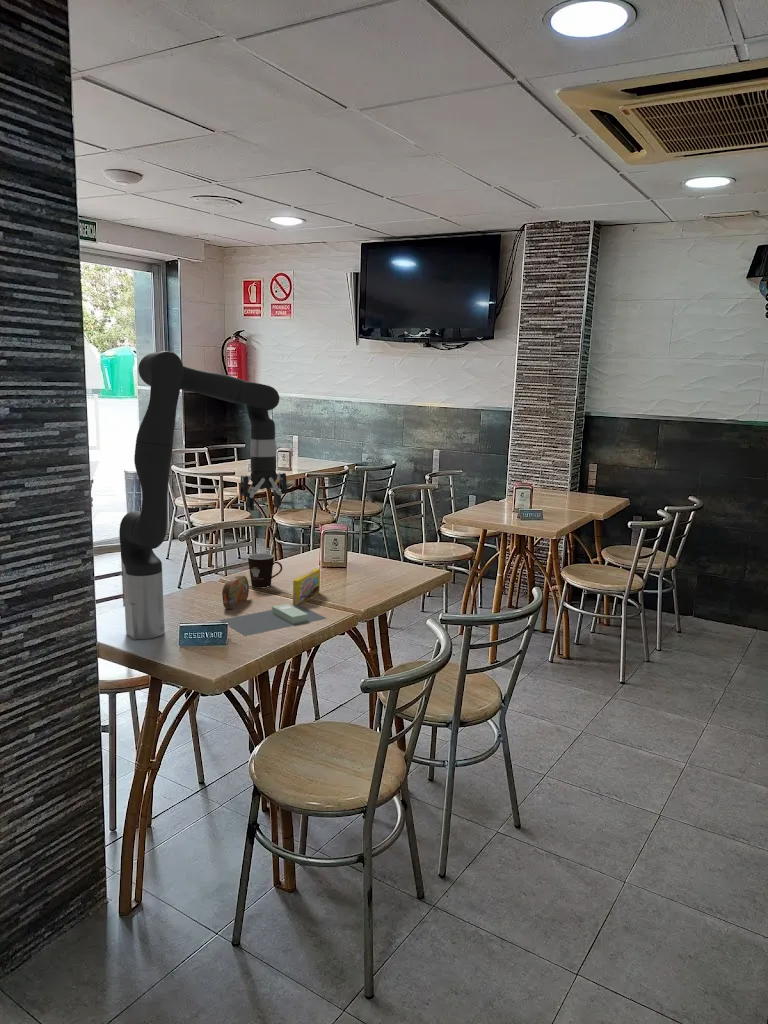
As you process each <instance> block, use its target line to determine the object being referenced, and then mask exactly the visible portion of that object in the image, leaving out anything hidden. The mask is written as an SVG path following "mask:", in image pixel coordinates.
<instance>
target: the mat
mask: <svg viewBox="0 0 768 1024" xmlns="http://www.w3.org/2000/svg"><path fill="white" fill-rule="evenodd" d="M292 606H293V607H295V608H297V609H299V610H301V611H303V612H305V613H307V614H308V621H304V622H300V623H295V624H292V623H290V622H288V621H286V620H284V619H283V618H281V617H279V616H277V615H275V614H273V613H272V609H268V610H264V611H260V612H255V613H254V612H253V613H249V614H248V613H247V614H245V615H239V616H233V617H228V618H224V619H219V620H218V621H219V622H221V623H223V622H227V623H228V625H229V626H228V625H227V626H228V627H229V628H231V629H232V630H234V631H236V632H238V634H241V635H242V636H244V637H246V636H251V635H255V634H260V633H264V632H270V631H274V630H275V631H276V630H279V629H284V628H289V627H293V626H298V625H302V624H303V625H304V624H307V623H312V622H317V621H321V620H326V619H328V617H326V616H324V615H322V614H319V613H317V612H315V611H313V610H310V609H308V608H306V607H304V606H302V605H300V604H298V605H294V604H293V605H292Z"/></svg>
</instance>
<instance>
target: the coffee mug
mask: <svg viewBox="0 0 768 1024" xmlns="http://www.w3.org/2000/svg"><path fill="white" fill-rule="evenodd" d="M274 558H275V555H274V554H271V553H253V554H249V555H248V556H247V562H248V569H249V576H250V582H251V587H252V586H254V587H266V588H268V587H267V586H270V585H272V579H273V578H275V577H277V576H278V575H279V574H281V572H282V571H283V565H282V564H281V563H280V562H279V561H274ZM275 564H278V565H279V567H280V570H279V571H278V572H277V573H276V574H273V567H274V565H275ZM254 587H253V588H254ZM270 587H271V586H270Z"/></svg>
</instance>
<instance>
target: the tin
mask: <svg viewBox="0 0 768 1024" xmlns="http://www.w3.org/2000/svg"><path fill="white" fill-rule="evenodd" d="M249 588H250V586H249V580H248V578H247V576H246V575H242V576H241V575H238V576H234V577H233V578H232V579H230V580H229V581H226V583H225V584H224V585H223V587H222V592H221V594H222V604H223V607H224V608H225V609H226V610H228V609H229V610H234V608H236V607H237V606H239V604H242V602H245V601H246V602H247V601H248V597H249V592H250V589H249Z"/></svg>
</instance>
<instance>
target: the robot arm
mask: <svg viewBox="0 0 768 1024" xmlns="http://www.w3.org/2000/svg"><path fill="white" fill-rule="evenodd" d="M137 370H138V374H139V377H140V378H141V380H142V381H143V382H144V383H145V384H146V385H148V386H149V387H150V391H149V392H150V395H149V401H148V406H147V408H146V411H145V414H144V416H143V418H142V421H141V423H140V426H139V429H138V431H137V435H136V440H135V445H134V447H135V448H134V455H133V456H134V457H133V458H134V467H135V470H136V474H137V478H138V480H139V483H140V487H141V496H142V497H141V498H142V499H141V509H140V510H133V511H129V512H127V513H125V515H124V516H123V517H122V519H121V521H120V524H119V531H118V533H119V534H118V535H119V544H120V545H119V546H120V555H121V557H120V558H121V561H122V563H123V565H124V569H125V584H126V587H125V588H126V599H124V617H125V634H126V635H127V636H128V637H129V638H130V639H132V640H147V639H153V638H158V637H160V636H163V635H164V634H165V633H166V632H165V607H164V585H163V584H164V582H163V580H164V579H163V564H162V563H163V562H162V561H161V559H160V558H159V557H158V556H157V555H156V554H155V551H154V549H157V548H159V547H160V546H161V545H162V544H163V542H164V540H165V538H166V536H167V531H168V492H169V491H168V490H169V481H170V469H171V463H172V456H173V455H172V454H173V448H174V447H173V445H174V435H175V426H176V415H177V407H178V401H179V397H180V392H181V390H182V391H188V392H192V393H197V394H199V395H204V396H207V397H210V398H214V399H217V400H221V401H225V402H229V403H233V404H238V405H239V404H241V405H246V410H247V415H248V419H249V423H250V446H249V447H250V448H249V449H250V451H249V452H250V455H249V456H250V475H245V474H242V475H241V476H240V489H239V490H240V491H239V494H240V496H242V497H245V498H246V507H247V509H248V511H254V510H255V498H254V496H255V495H256V493H258V491H259V490H264V489H269V490H271V491H272V492H273V493H274V495H273V506H274V508H276V509H279V508H280V506H282V494H285V493H287V492H288V485H287V483H288V482H287V474H286V473H285V472H278V473H277V444H276V425H275V421H274V420H273V419H271V418H270V415H269V411H272V410H274V409H275V408H276V407H277V406H278V405H279V403H280V394H279V392H278V390H277V389H275V387H273V386H270V385H269V384H268V385H267V384H265V383H264V384H263V383H259V382H254V381H253V382H252V381H247V380H244V379H243V378H242V379H241V378H239V377H235V376H232V375H228V374H225V373H219V372H215V371H214V372H213V371H207V370H200V369H196V368H191V367H187V366H185V365H184V364H183V361H182V360H181V357H179V355H177V354H176V353H175V352H173V351H170V350H169V351H168V350H163V351H158V352H157V351H156V352H151V353H149V354H146V355H144V356H143V357H142V358H141V360H140V361H139V363H138V369H137ZM277 480H278V484H277V483H276V481H277ZM250 482H251V484H250V485H249V483H250Z"/></svg>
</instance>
